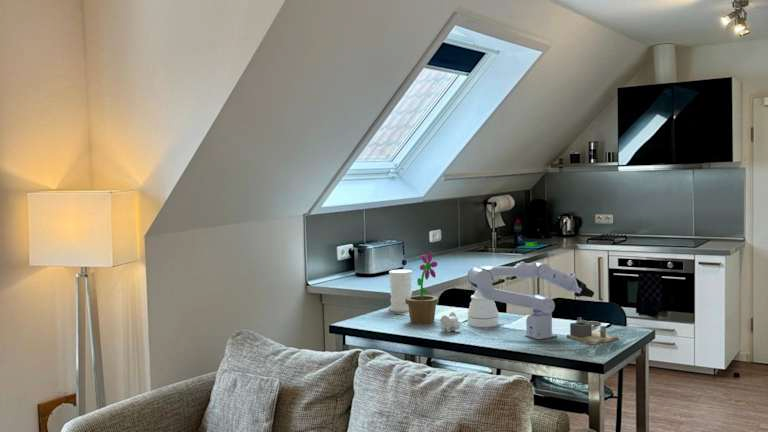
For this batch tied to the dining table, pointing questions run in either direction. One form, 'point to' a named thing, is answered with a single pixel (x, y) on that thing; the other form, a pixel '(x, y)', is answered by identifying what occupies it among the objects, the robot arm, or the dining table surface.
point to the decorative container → (400, 289)
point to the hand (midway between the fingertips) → (588, 291)
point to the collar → (581, 329)
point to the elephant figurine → (449, 323)
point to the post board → (596, 337)
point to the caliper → (587, 321)
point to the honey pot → (482, 311)
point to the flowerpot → (423, 297)
